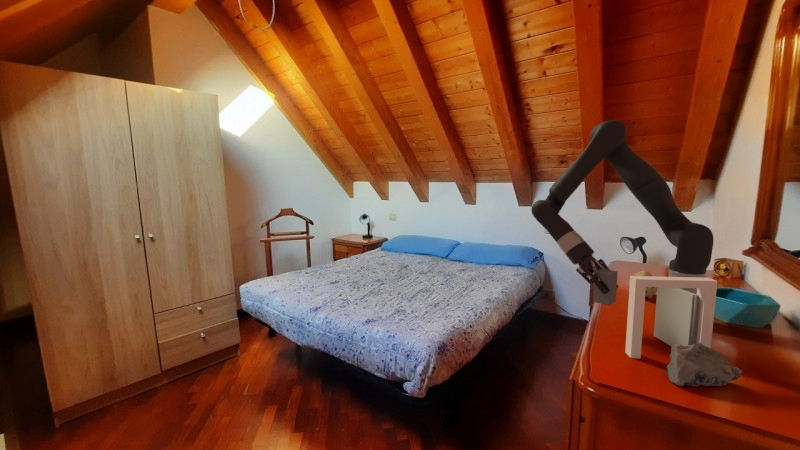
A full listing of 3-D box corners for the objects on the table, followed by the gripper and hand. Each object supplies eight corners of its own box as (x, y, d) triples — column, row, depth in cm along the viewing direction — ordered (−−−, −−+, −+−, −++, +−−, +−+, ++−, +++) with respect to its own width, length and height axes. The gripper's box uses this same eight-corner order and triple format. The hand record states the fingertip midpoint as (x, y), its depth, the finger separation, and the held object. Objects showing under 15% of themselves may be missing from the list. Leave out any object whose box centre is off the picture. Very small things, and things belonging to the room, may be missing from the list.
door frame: (700, 356, 89) (708, 277, 86) (709, 362, 86) (717, 281, 83) (625, 352, 92) (630, 275, 89) (630, 357, 89) (636, 279, 86)
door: (700, 357, 87) (706, 296, 85) (690, 358, 87) (696, 296, 85) (662, 335, 100) (666, 281, 98) (653, 335, 100) (657, 281, 98)
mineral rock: (739, 384, 77) (743, 344, 75) (742, 408, 69) (748, 363, 68) (668, 364, 85) (671, 328, 84) (664, 384, 78) (667, 343, 76)
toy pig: (626, 299, 131) (628, 273, 130) (628, 290, 141) (629, 266, 140) (657, 304, 126) (660, 277, 124) (657, 294, 135) (659, 269, 134)
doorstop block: (592, 301, 105) (594, 271, 104) (600, 298, 108) (602, 268, 107) (608, 305, 102) (610, 274, 100) (615, 302, 104) (617, 271, 103)
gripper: (571, 243, 104) (610, 289, 96) (593, 238, 112) (631, 280, 104) (555, 256, 109) (591, 301, 101) (577, 250, 117) (612, 292, 109)
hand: (611, 290), depth 103 cm, fingers closed on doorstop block, 5 cm apart
